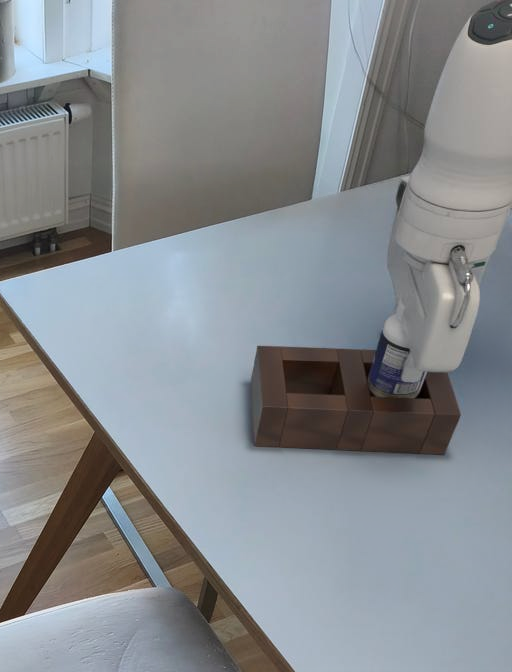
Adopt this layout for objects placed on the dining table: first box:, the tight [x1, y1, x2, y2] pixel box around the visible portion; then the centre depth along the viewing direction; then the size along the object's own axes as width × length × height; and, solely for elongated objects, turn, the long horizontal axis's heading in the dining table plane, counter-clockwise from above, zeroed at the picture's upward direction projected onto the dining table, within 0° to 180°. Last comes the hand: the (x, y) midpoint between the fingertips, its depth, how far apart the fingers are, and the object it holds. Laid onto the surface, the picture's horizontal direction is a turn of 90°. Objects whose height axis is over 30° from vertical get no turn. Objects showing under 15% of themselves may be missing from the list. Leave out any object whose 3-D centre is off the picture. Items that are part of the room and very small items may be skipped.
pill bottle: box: [367, 297, 427, 398], centre depth 88 cm, size 5×5×10 cm
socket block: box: [249, 345, 462, 456], centre depth 93 cm, size 19×11×5 cm, turn 84°
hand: (403, 358), depth 89 cm, fingers closed on pill bottle, 5 cm apart
